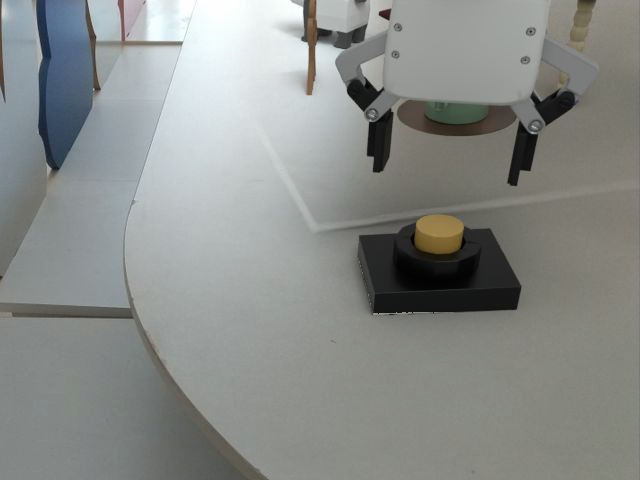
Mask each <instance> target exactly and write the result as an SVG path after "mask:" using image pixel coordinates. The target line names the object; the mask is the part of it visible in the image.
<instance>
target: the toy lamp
mask: <svg viewBox="0 0 640 480" xmlns="http://www.w3.org/2000/svg"><path fill="white" fill-rule="evenodd" d="M596 2H597V0H577V2H576V8H577V9H576V11H575V12H574V14H573V25H572V26H571V28H570V31H569V40H568V42H567V44H566V45H568V46H570V47H571V48H573V49H575V50H577V51H578V52H580V53H582V54H583V51H584V49H585V44H586V43H585V40H586V38H587V36H588V34H589V24H590V23H591V21H592V18H593V9H594V8H595V6H596ZM568 78H569V76H568V75H567V74H565V73H563V72H562V71H560V70H559V74H558V83H557V84H556V86H555V89H554V90H555V91H557V90H558V89H560V88H561V87H562V86H563V85H564V84H565V83H566V81H567V80H568ZM555 91H554V92H555ZM550 95H551V94H550ZM550 95H549V94H548V96H550ZM548 96H546V97H545V98H544V99H546V98H547V97H548ZM578 104H579V99H578V100H577V101H576V103H575V104H574V106H577V105H578ZM574 106H573V107H574Z"/></svg>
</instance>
